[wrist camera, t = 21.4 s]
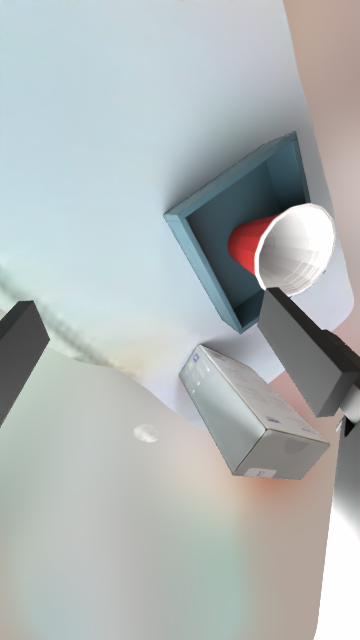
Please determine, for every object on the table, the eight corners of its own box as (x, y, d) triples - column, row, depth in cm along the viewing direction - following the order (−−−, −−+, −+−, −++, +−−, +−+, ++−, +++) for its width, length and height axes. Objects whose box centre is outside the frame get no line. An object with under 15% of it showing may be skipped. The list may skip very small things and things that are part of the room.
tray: (162, 215, 32) (176, 214, 27) (262, 144, 33) (295, 130, 27) (221, 319, 43) (240, 334, 37) (296, 264, 43) (325, 271, 38)
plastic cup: (197, 245, 35) (242, 257, 24) (247, 189, 34) (315, 178, 24) (236, 290, 40) (286, 315, 30) (280, 243, 39) (347, 252, 29)
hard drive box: (176, 375, 44) (229, 476, 27) (197, 342, 43) (267, 427, 26) (232, 394, 52) (301, 482, 34) (251, 366, 50) (334, 444, 33)
